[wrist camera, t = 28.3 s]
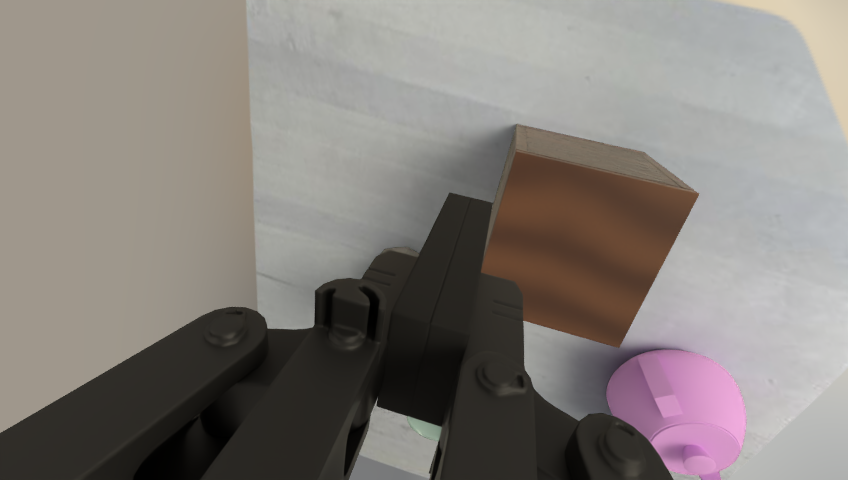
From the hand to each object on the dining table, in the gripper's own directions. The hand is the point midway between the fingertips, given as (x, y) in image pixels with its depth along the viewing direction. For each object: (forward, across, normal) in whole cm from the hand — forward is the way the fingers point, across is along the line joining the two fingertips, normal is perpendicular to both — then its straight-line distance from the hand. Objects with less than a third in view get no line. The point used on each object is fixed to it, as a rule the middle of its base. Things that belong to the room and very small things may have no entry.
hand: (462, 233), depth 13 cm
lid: (+19, +9, -9) cm, 22 cm away
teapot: (+32, +32, -32) cm, 55 cm away
